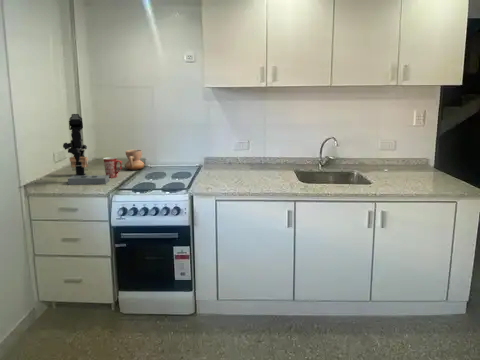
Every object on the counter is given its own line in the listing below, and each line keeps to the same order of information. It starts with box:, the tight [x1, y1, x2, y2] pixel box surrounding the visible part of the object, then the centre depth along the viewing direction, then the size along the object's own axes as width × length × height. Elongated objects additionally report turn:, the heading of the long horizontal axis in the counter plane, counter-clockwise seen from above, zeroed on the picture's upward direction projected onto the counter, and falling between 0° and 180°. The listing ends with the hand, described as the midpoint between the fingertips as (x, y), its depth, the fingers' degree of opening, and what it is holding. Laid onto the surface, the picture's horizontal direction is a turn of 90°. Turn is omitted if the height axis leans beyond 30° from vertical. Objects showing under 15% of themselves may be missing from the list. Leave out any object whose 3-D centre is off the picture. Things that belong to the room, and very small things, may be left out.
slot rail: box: [67, 174, 110, 186], centre depth 292 cm, size 9×24×4 cm, turn 92°
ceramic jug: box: [124, 149, 145, 171], centre depth 334 cm, size 18×14×14 cm
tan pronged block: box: [69, 156, 88, 168], centre depth 293 cm, size 4×10×6 cm, turn 90°
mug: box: [102, 156, 123, 179], centre depth 308 cm, size 13×9×14 cm
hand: (78, 161), depth 293 cm, fingers closed on tan pronged block, 3 cm apart
